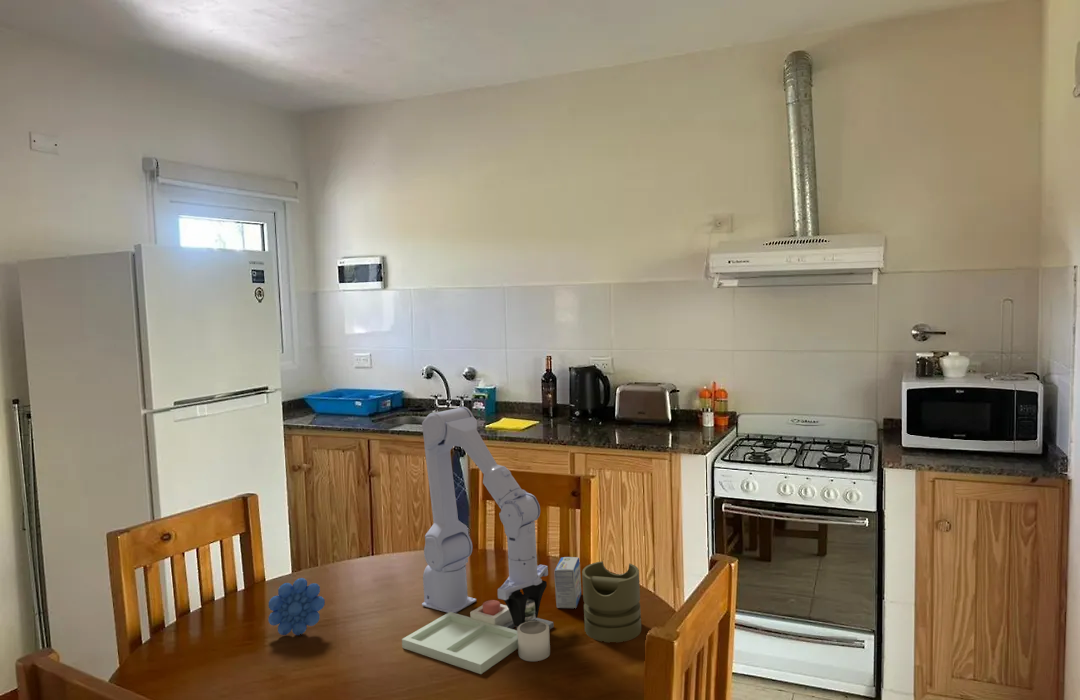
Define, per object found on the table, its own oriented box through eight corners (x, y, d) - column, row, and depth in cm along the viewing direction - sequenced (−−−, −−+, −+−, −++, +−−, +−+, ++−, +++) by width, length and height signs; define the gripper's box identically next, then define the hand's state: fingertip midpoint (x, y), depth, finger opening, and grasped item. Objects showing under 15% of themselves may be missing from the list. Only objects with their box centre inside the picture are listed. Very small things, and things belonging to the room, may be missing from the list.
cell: (512, 632, 148) (510, 601, 148) (524, 624, 151) (522, 594, 151) (528, 636, 146) (526, 605, 145) (540, 628, 149) (538, 598, 149)
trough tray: (402, 647, 144) (401, 639, 144) (450, 619, 155) (449, 611, 155) (481, 674, 132) (480, 664, 132) (526, 641, 144) (526, 633, 143)
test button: (480, 623, 152) (479, 605, 152) (491, 617, 155) (490, 598, 155) (493, 627, 150) (492, 608, 150) (504, 620, 153) (503, 602, 152)
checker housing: (471, 626, 152) (470, 612, 151) (489, 614, 157) (489, 601, 157) (495, 633, 148) (494, 618, 148) (513, 621, 153) (512, 607, 153)
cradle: (498, 633, 148) (498, 629, 148) (522, 618, 154) (521, 613, 154) (530, 643, 143) (530, 638, 143) (553, 626, 150) (553, 622, 149)
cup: (512, 656, 138) (510, 630, 138) (530, 643, 143) (529, 617, 143) (538, 664, 135) (536, 637, 134) (556, 650, 140) (555, 624, 139)
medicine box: (576, 609, 157) (574, 570, 157) (555, 608, 158) (554, 569, 158) (581, 594, 165) (579, 556, 164) (562, 593, 166) (560, 556, 165)
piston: (632, 584, 139) (575, 579, 143) (634, 645, 140) (577, 639, 144) (644, 563, 150) (590, 558, 154) (646, 619, 151) (593, 614, 155)
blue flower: (331, 623, 156) (327, 568, 156) (324, 638, 150) (320, 581, 149) (275, 627, 156) (271, 572, 155) (266, 642, 149) (261, 585, 148)
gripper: (516, 571, 139) (520, 640, 140) (558, 547, 151) (562, 611, 152) (487, 565, 143) (491, 632, 144) (531, 542, 155) (534, 604, 156)
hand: (525, 621), depth 148 cm, fingers closed on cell, 4 cm apart
